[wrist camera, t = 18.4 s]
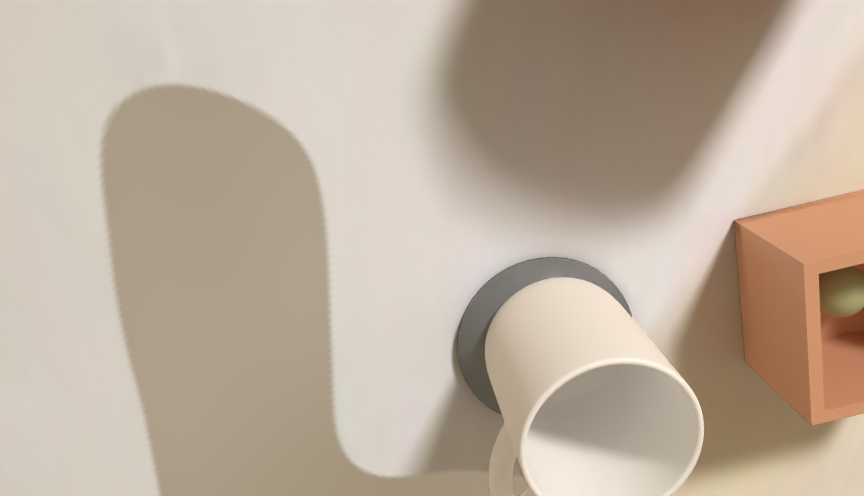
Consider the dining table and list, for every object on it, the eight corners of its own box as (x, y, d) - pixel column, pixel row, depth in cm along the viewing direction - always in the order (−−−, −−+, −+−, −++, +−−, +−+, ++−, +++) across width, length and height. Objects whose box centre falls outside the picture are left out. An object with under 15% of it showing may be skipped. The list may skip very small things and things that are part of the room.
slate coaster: (475, 434, 46) (477, 439, 45) (441, 280, 42) (442, 284, 42) (640, 394, 46) (643, 399, 45) (618, 238, 42) (622, 242, 42)
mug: (535, 476, 46) (584, 607, 36) (418, 417, 44) (436, 540, 34) (655, 316, 43) (742, 411, 34) (536, 245, 41) (592, 325, 32)
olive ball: (798, 309, 44) (828, 332, 41) (795, 261, 43) (826, 281, 40) (848, 297, 44) (882, 319, 41) (847, 249, 43) (882, 268, 40)
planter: (745, 361, 46) (811, 425, 39) (734, 220, 43) (803, 263, 36) (891, 326, 46) (981, 384, 39) (890, 183, 43) (988, 220, 36)
